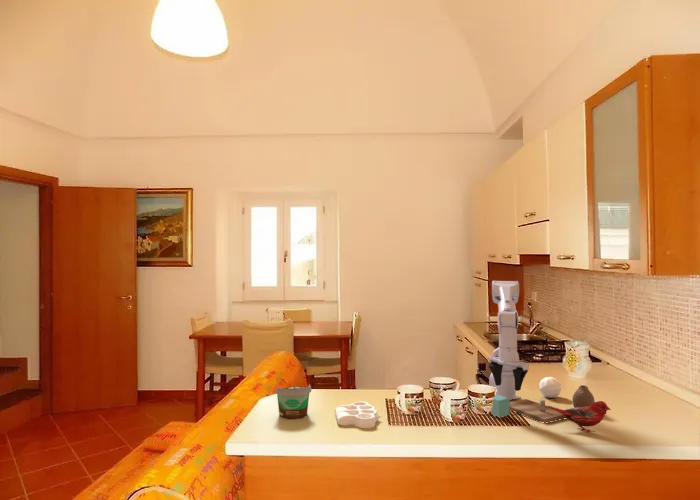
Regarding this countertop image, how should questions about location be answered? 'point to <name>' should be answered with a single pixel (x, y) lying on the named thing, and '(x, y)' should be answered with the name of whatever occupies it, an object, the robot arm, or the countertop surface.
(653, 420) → the countertop surface
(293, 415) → the food container
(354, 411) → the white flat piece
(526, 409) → the walnut base plate
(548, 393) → the geometric ball
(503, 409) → the matte teal cube
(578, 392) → the vase
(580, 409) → the decorative bird figurine
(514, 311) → the robot arm
